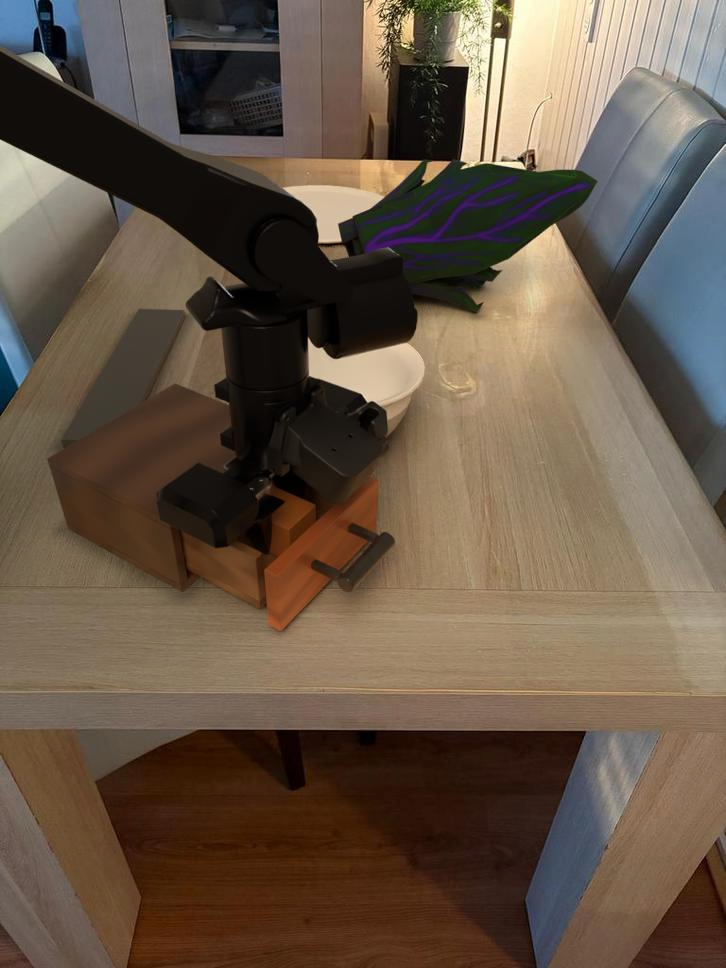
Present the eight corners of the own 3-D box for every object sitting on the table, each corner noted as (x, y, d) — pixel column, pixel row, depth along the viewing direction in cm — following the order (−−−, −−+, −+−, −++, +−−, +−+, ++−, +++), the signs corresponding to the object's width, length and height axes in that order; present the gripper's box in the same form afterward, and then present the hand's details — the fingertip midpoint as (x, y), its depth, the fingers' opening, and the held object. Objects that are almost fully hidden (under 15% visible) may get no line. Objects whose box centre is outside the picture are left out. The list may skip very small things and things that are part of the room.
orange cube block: (317, 538, 61) (316, 504, 59) (290, 563, 59) (288, 529, 56) (272, 517, 63) (270, 484, 61) (245, 541, 61) (242, 507, 58)
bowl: (451, 442, 77) (459, 369, 71) (332, 505, 68) (332, 428, 63) (350, 381, 86) (351, 312, 81) (234, 430, 77) (227, 357, 72)
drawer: (415, 549, 62) (420, 496, 59) (323, 655, 54) (322, 600, 50) (263, 481, 69) (259, 429, 66) (158, 565, 60) (147, 510, 57)
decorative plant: (366, 337, 114) (554, 278, 114) (380, 352, 89) (620, 277, 89) (326, 199, 109) (522, 137, 108) (328, 175, 84) (584, 94, 83)
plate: (417, 244, 120) (418, 237, 119) (235, 251, 116) (235, 243, 115) (386, 189, 143) (386, 182, 142) (232, 193, 139) (232, 186, 138)
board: (123, 449, 74) (121, 441, 74) (63, 447, 74) (61, 439, 74) (185, 316, 98) (184, 309, 97) (140, 315, 98) (138, 308, 97)
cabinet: (293, 497, 69) (290, 429, 64) (182, 592, 59) (168, 520, 55) (184, 448, 75) (174, 382, 70) (67, 528, 65) (46, 458, 60)
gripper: (275, 478, 42) (286, 657, 51) (435, 349, 54) (419, 513, 64) (134, 416, 46) (169, 591, 56) (311, 310, 59) (314, 468, 68)
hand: (278, 537), depth 61 cm, fingers closed on orange cube block, 3 cm apart
